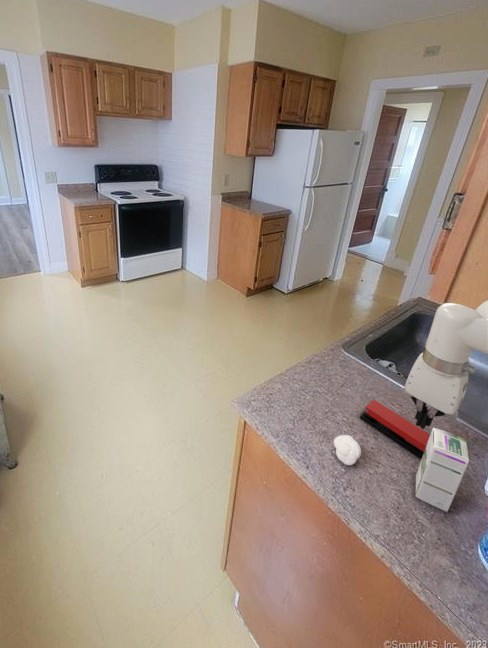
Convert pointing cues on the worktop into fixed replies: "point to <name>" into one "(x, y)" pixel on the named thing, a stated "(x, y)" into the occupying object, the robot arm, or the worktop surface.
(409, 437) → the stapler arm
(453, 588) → the worktop surface
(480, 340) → the robot arm
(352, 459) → the dumpling
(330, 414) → the worktop surface
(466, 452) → the syrup box
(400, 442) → the stapler base
